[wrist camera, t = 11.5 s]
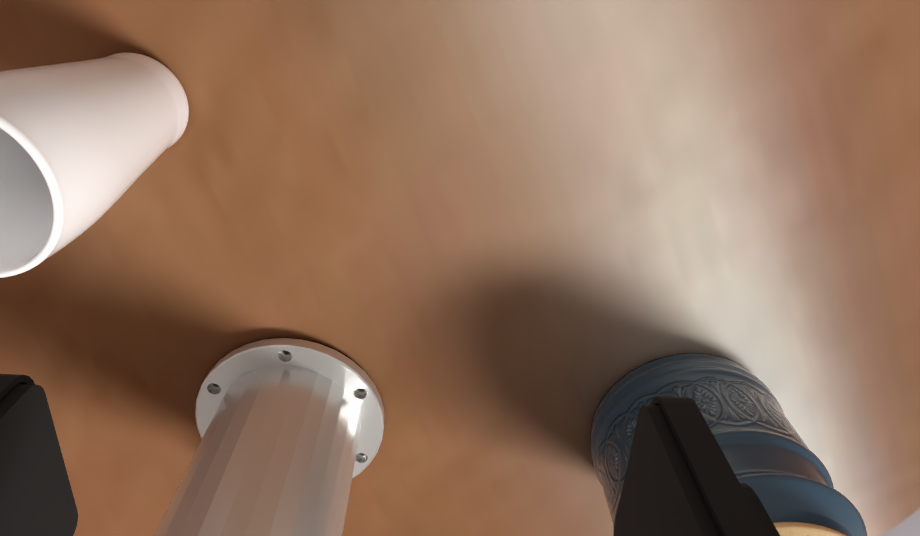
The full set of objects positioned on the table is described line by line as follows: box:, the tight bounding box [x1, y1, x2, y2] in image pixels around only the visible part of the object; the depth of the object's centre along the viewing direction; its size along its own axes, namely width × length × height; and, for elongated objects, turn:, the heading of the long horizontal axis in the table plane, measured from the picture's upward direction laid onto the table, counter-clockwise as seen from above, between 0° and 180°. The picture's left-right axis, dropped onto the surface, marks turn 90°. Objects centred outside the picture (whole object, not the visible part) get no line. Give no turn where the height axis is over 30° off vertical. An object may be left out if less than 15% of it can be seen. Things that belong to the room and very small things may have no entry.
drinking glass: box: [0, 52, 189, 278], centre depth 29 cm, size 7×7×15 cm
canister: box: [591, 354, 867, 536], centre depth 38 cm, size 13×13×18 cm
